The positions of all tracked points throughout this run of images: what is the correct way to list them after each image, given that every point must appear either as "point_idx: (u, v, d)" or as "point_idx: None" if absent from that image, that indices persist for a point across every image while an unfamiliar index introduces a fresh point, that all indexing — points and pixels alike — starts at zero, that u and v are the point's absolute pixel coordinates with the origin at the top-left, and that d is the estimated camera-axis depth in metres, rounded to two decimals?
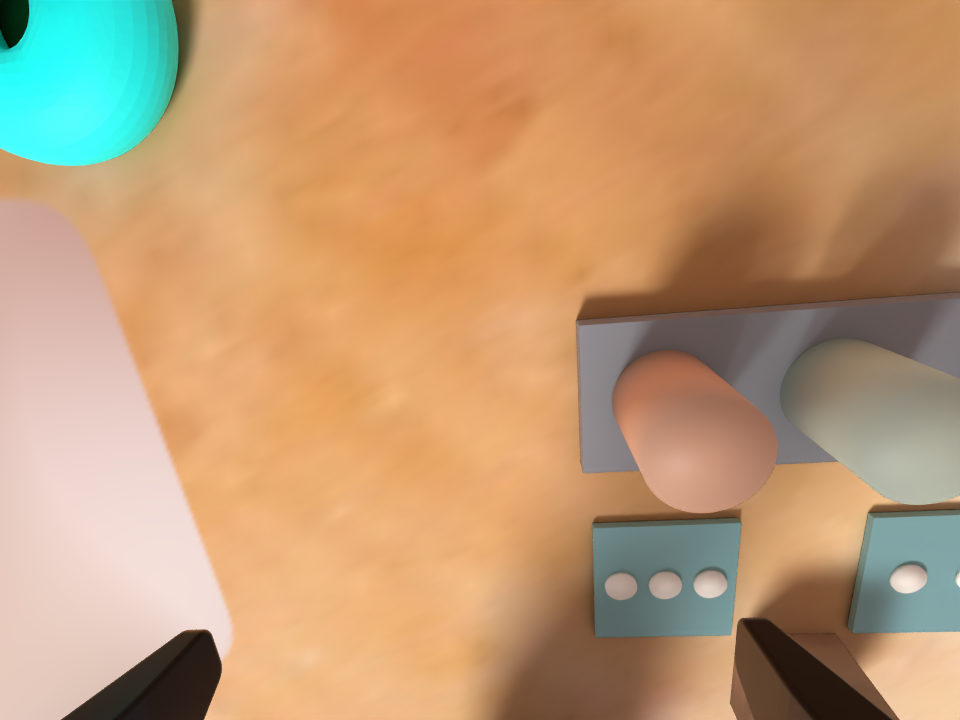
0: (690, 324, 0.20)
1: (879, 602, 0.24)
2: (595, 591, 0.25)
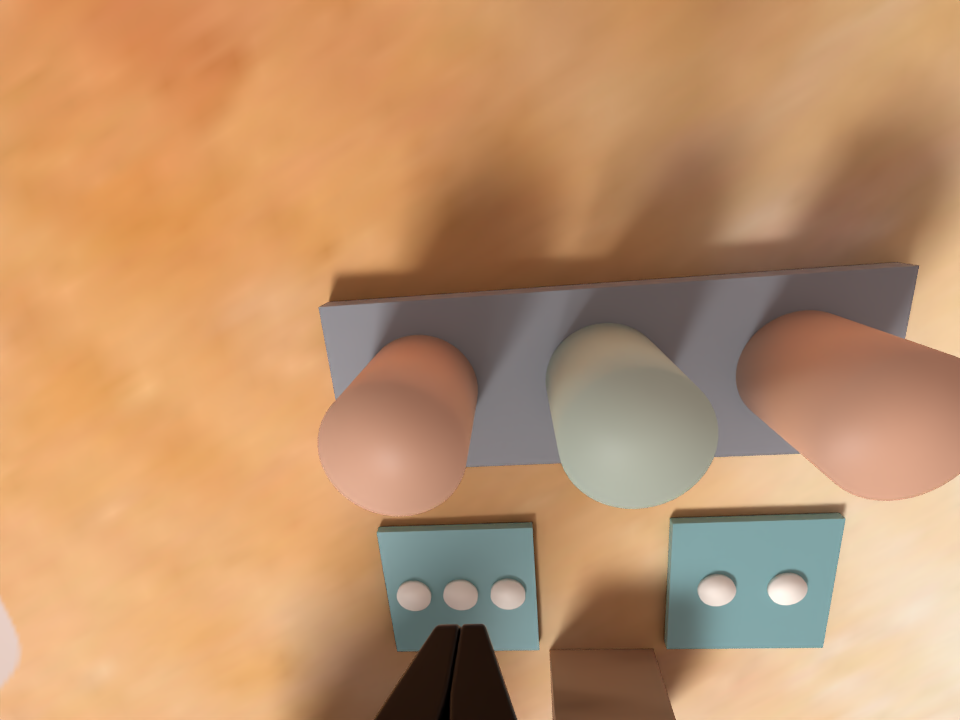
0: (438, 305, 0.18)
1: (691, 615, 0.22)
2: (389, 601, 0.23)
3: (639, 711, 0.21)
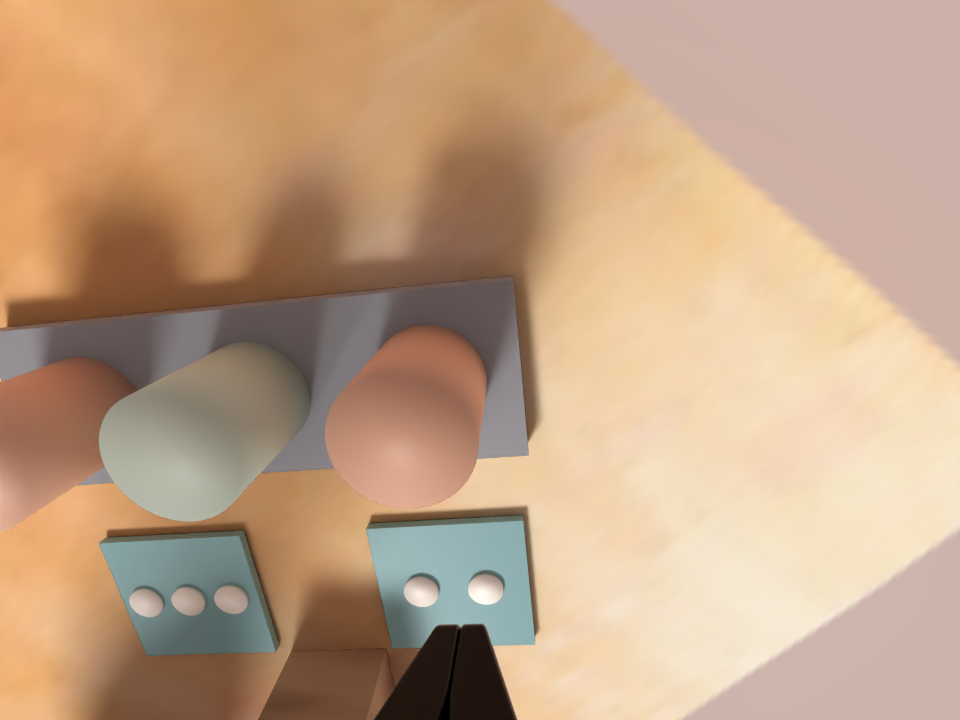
0: (87, 329, 0.19)
1: (405, 616, 0.23)
2: (128, 608, 0.24)
3: (338, 709, 0.22)
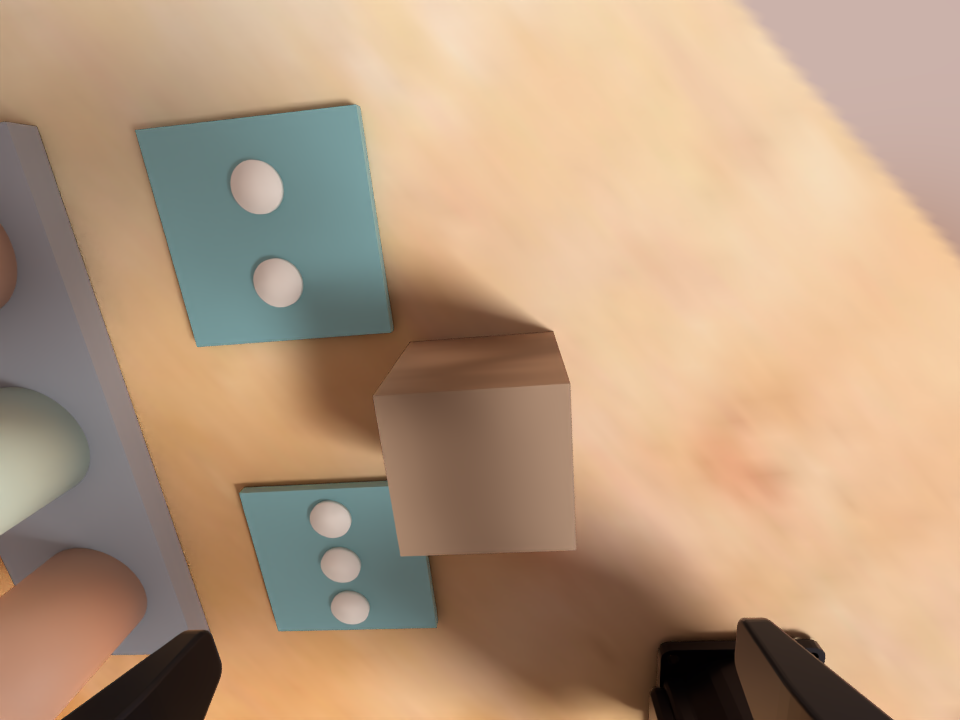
0: (15, 574, 0.20)
1: (329, 308, 0.16)
2: (366, 627, 0.21)
3: None
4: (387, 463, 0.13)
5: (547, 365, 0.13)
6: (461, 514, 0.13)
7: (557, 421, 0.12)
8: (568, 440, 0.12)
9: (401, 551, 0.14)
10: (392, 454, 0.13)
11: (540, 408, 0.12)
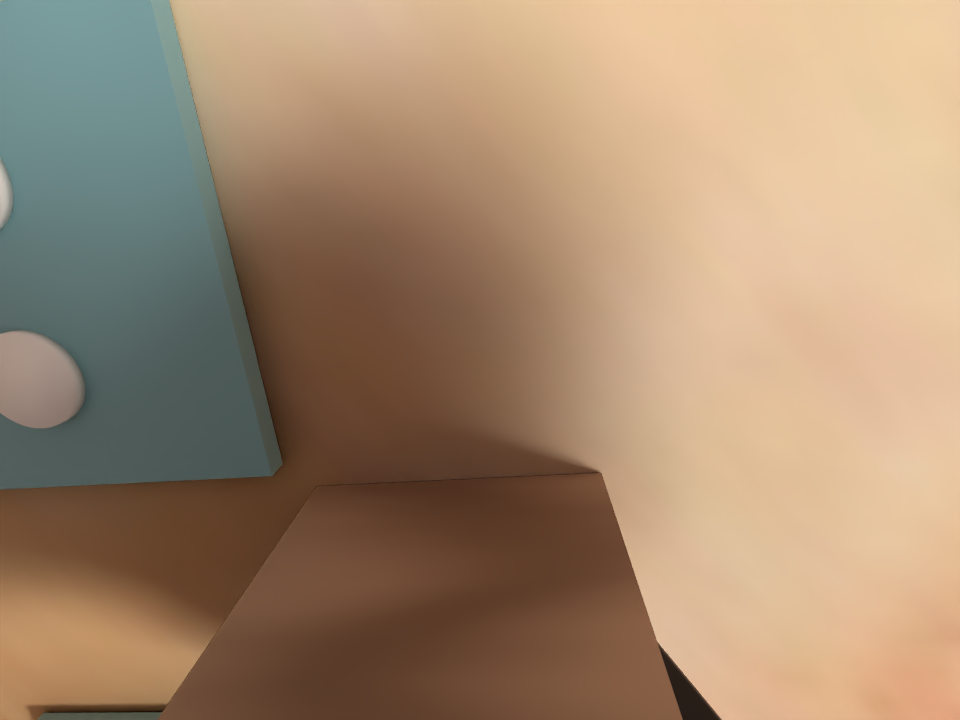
0: None
1: (143, 428, 0.08)
2: None
3: None
4: None
5: (619, 660, 0.05)
6: None
7: None
8: None
9: None
10: None
11: None
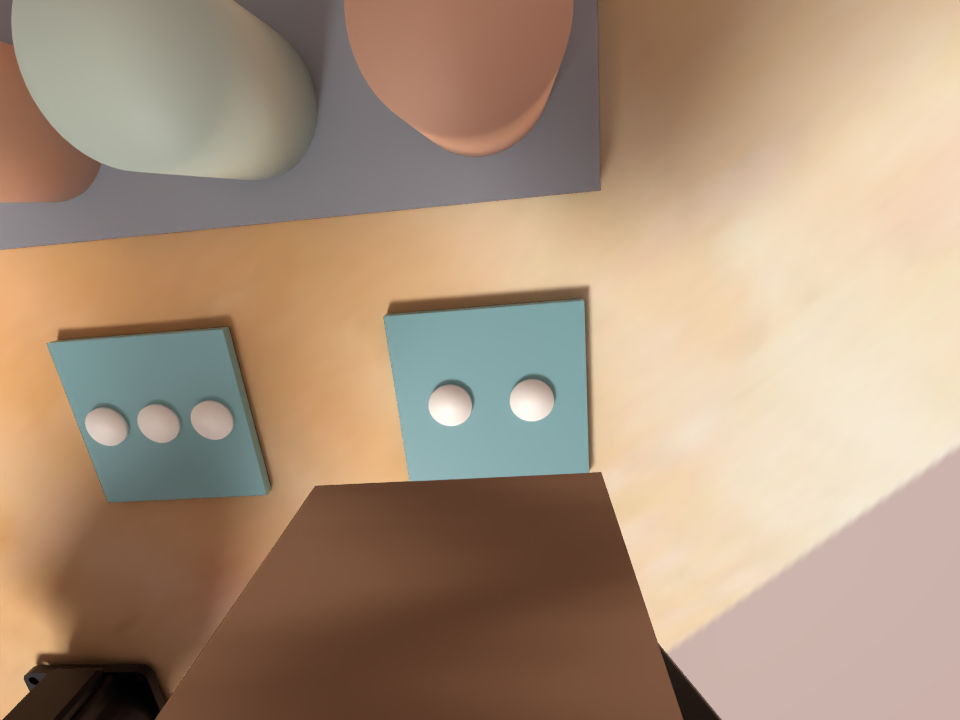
0: None
1: (429, 442, 0.19)
2: (84, 436, 0.19)
3: None
4: None
5: (619, 660, 0.05)
6: None
7: None
8: None
9: None
10: None
11: None
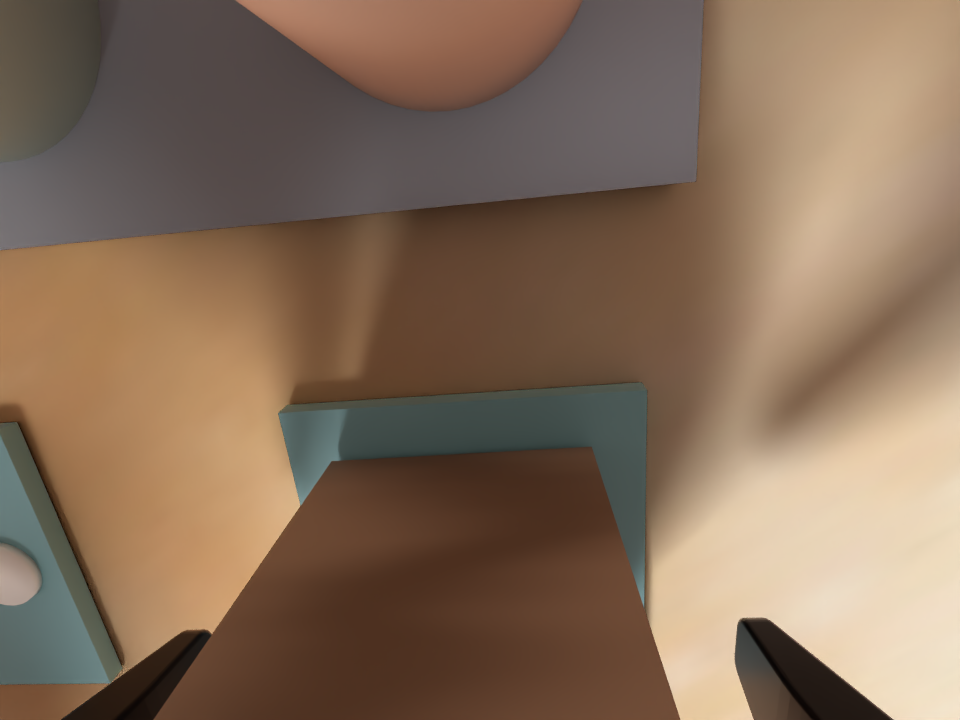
0: None
1: None
2: None
3: None
4: None
5: (600, 594, 0.06)
6: None
7: None
8: None
9: None
10: None
11: None
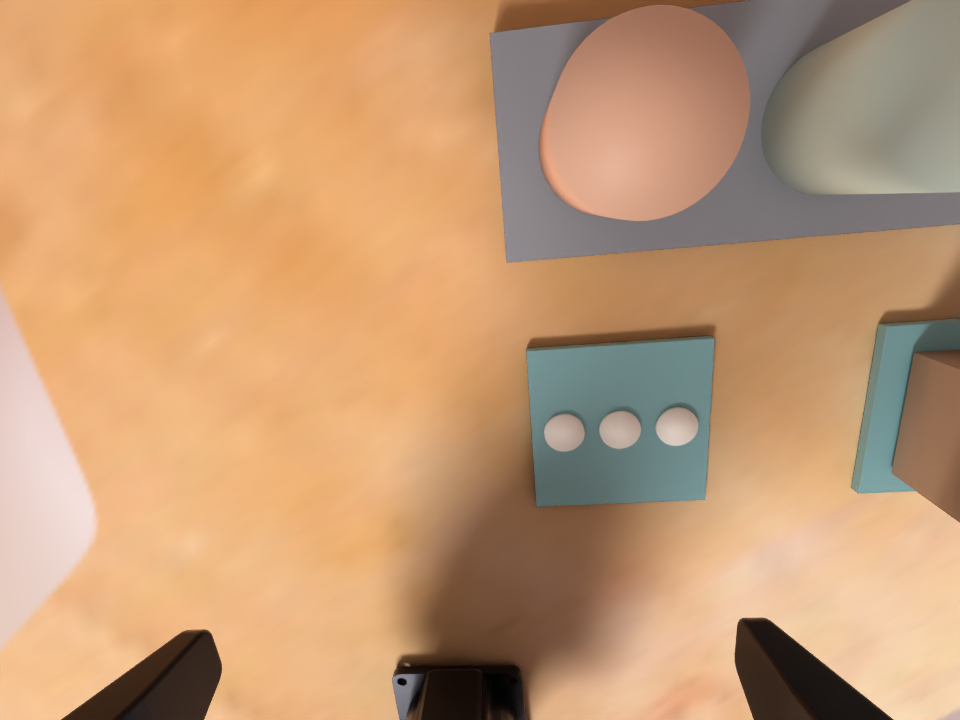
0: None
1: (892, 448, 0.19)
2: (533, 442, 0.20)
3: None
4: None
5: None
6: None
7: None
8: None
9: None
10: None
11: None
